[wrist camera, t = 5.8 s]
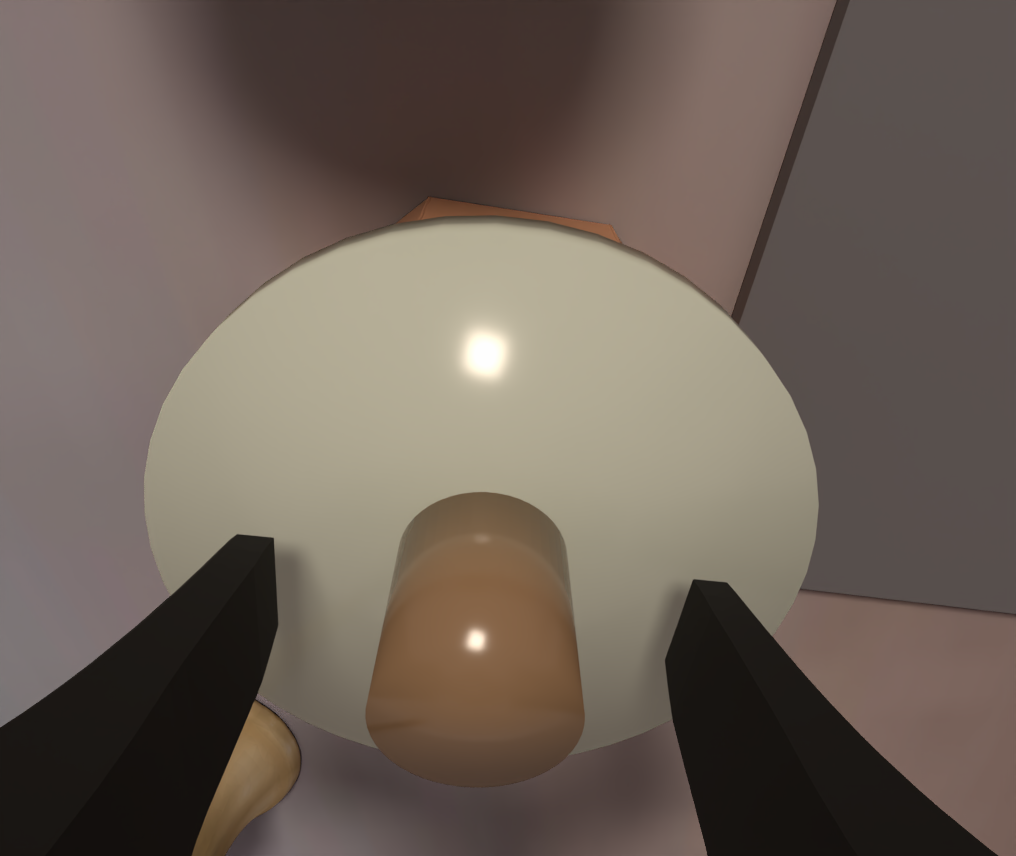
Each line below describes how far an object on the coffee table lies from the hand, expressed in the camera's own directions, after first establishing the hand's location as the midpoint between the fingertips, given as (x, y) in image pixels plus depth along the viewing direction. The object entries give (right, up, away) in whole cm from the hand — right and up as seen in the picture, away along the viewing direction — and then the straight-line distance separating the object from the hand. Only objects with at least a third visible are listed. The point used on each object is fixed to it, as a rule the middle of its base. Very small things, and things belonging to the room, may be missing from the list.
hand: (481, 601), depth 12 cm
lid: (0, +1, +2) cm, 2 cm away
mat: (+13, +4, +6) cm, 15 cm away
